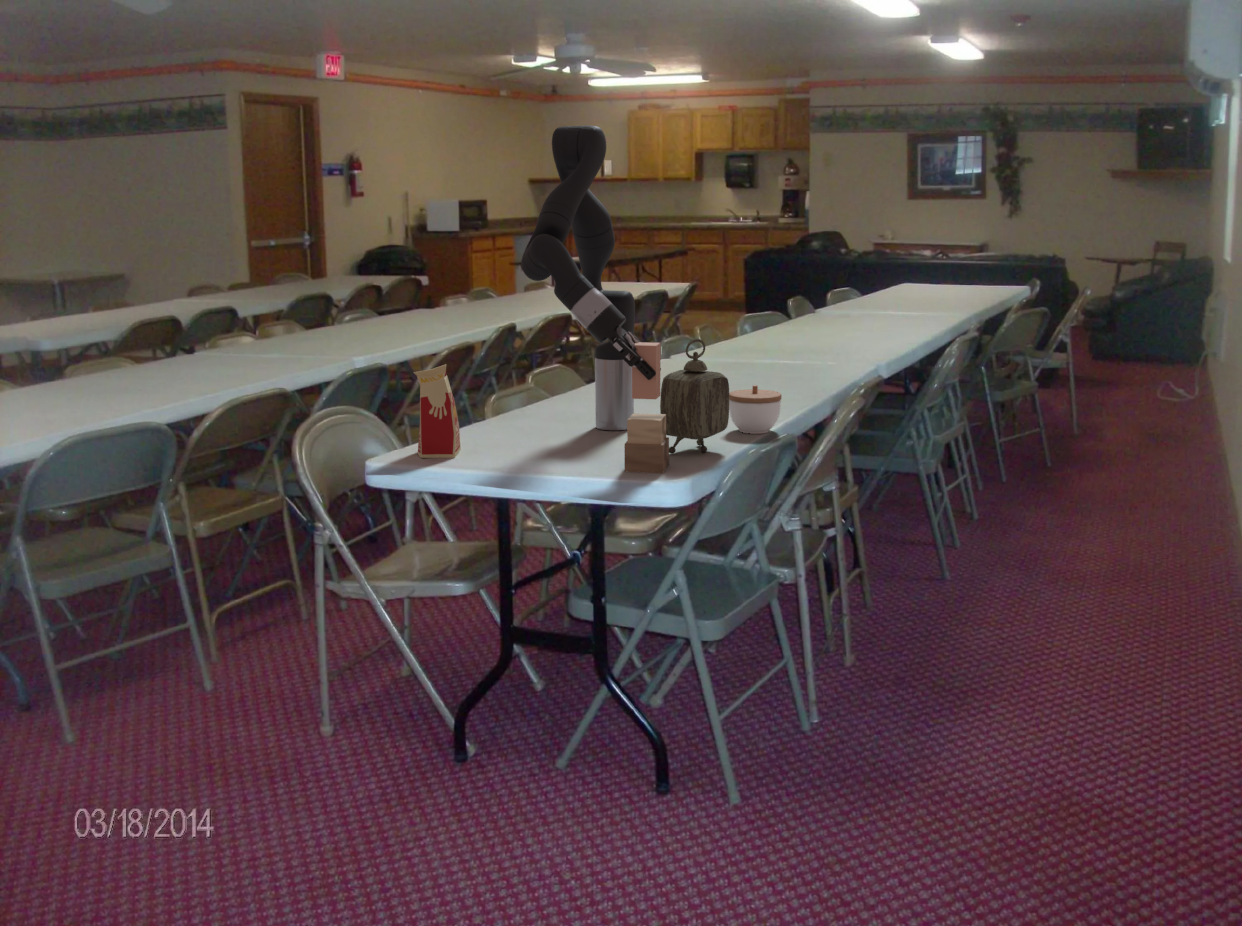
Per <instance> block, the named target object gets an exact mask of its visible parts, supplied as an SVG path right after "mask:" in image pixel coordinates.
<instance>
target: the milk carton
mask: <svg viewBox="0 0 1242 926" xmlns="http://www.w3.org/2000/svg"><path fill="white" fill-rule="evenodd" d="M447 366H448V365H447V363H445V364H443V365H440V366H437V367H434V368H431V369H426V370H425V369H424V370H419V371H413V374H414V375H415V376H416V377H417V381H418V384H419V428H418V429H419V431H418V444H417V455H418V456H419V457H420V458H421V459H432V458H433V459H440V458H441V459H454V458H456V457H457V456H458V455H459V453H460V451H461V450H462V447H461V434H460V423H459V419H458V418H459V417H458V413H457V408H456V402H455V398H454V395H453V392H452V388H451V385H450V380H449V377H448V375H447Z"/></svg>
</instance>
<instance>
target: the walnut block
mask: <svg viewBox="0 0 1242 926" xmlns="http://www.w3.org/2000/svg"><path fill="white" fill-rule="evenodd" d="M669 447H670V437H669V436H668V437H667V436H666V439H665V440H664V441H663V443H662V444H661V445H659V444H627V441H626V442H625V443H624V472H625V471H628V472H627V473H643V472H645V474H646V473H647V474H649V473H650V474H664V473H665V471H666V470H667V468H668V467H667V466H670V453H669Z"/></svg>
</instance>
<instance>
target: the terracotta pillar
mask: <svg viewBox="0 0 1242 926" xmlns="http://www.w3.org/2000/svg"><path fill="white" fill-rule="evenodd" d="M635 346H636V348H637V349H638V353H639V354H640V355H641V356H642V357H643V359H644V360H645V361H646V362H647V363H648V364H649V365H650V366H651V367H652V368H653V369H654V370H655V371H656V375H655V376H654V377H653V378H652V379H651V380H648V379H647V378H646V377H645V376H644V375H643V374H642V373H641V372H640V371H639V370H638V369H637V367H636V368H635V367H633V366H632V399H634V400H657V399H659V397H661V371H660V368H661V348H662V347H661V342H651V341H650V342H645V341H643V342H642V341H640V342H639V343H635ZM633 357H634V356H632V358H633ZM644 360H643V361H644Z"/></svg>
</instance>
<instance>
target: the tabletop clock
mask: <svg viewBox="0 0 1242 926" xmlns="http://www.w3.org/2000/svg"><path fill="white" fill-rule="evenodd" d="M694 343H700V344H701V345H702V347H703V348H702V351H701V352H700V353H698V351H693V353H692V355H690V354H689V348H690V346H691V345H692V344H694ZM705 351H706V344H705V342H704V340H703V339H700V338H694V339H691V340H690V341H689V342H688V343H687V344H686V346H685V354H686V356H687V357H688V358H689V359H690V360H688V361H687V362H686V363H685V365H684V366H683V369H679V370H676V371H673V372H670V373H667V374H666V375H665V376H664V377H663V379H662V381H661V386H660V402H659V403H660V405H659V411H660V414H666V436H668V437H669V436H670V437H675V438H676V440H675V442H674V444H673V445H671V446H669V454H675V453H676V447H677V446H678V444H679V443H680V442H681V441H682V440H683V439H689V440H696V444H697V446H699V447H700V448H699V450H700V453H703V454H705V453H706V452H707V451H708V447H707V446H705V441H704V439H708V438H710V437H712V436H713V437H714V436H715V435H717V434H720V433H722V432H724V431H725V430H726V429H727V428H728V426H729V418H730V411H729V393H730V384H729V379H728V377H726V376H725V375H724V374H723V373H722V372H717V371H709V370H708V367H707V365H706V362H704V361H703V360H700V359H699V358H701V357H703V355H704V353H705Z"/></svg>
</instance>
